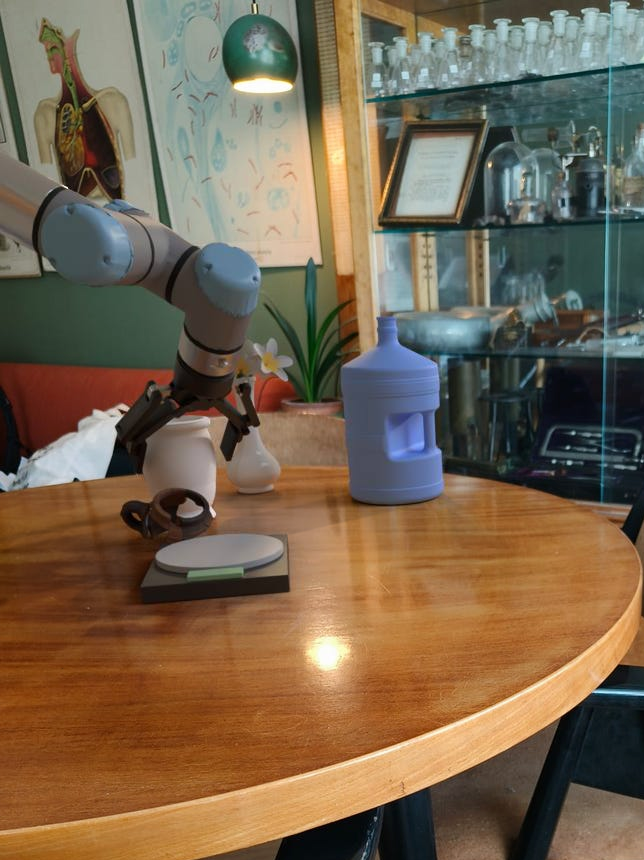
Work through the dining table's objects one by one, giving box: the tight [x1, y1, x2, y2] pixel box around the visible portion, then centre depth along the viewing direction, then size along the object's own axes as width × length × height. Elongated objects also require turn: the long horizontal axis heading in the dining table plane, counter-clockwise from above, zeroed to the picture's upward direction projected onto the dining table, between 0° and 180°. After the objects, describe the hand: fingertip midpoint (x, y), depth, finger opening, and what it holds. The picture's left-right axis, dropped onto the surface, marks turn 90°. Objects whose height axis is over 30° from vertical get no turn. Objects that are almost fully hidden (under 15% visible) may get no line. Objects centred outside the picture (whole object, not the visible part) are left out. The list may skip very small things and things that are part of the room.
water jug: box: [340, 315, 445, 506], centre depth 142 cm, size 16×16×28 cm
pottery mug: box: [119, 488, 214, 543], centre depth 121 cm, size 12×10×8 cm
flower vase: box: [225, 337, 294, 495], centre depth 149 cm, size 13×18×25 cm
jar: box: [142, 414, 217, 519], centre depth 132 cm, size 11×10×15 cm
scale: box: [139, 533, 291, 605], centre depth 107 cm, size 16×19×3 cm
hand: (181, 460), depth 130 cm, fingers open, 13 cm apart
